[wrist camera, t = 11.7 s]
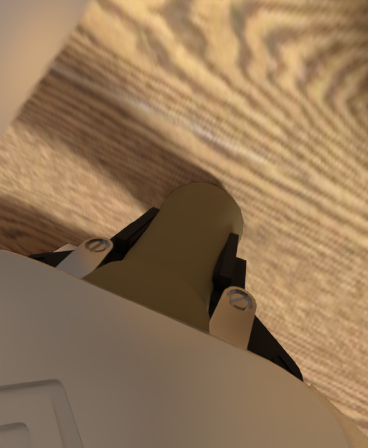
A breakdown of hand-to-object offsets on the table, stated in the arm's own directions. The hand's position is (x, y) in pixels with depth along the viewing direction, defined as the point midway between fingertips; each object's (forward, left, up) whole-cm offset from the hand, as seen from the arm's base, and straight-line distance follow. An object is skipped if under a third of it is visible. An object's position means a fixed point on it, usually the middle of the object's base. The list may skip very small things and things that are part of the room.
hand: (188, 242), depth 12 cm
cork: (0, 0, -3) cm, 3 cm away
